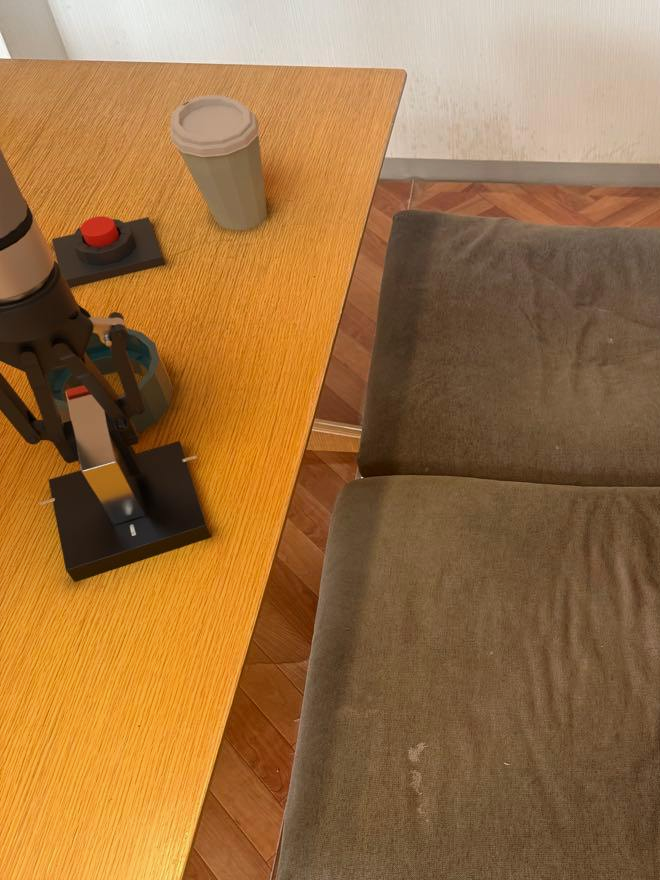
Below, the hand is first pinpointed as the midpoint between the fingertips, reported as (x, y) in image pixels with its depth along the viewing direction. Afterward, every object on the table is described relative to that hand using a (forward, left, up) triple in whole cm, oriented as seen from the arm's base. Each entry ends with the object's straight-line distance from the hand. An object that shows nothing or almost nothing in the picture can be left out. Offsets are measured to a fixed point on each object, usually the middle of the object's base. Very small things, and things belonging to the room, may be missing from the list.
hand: (115, 470), depth 88 cm
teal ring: (+1, +14, -5) cm, 15 cm away
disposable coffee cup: (+22, +42, -5) cm, 48 cm away
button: (+5, +40, -1) cm, 40 cm away
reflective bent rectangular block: (0, 0, -2) cm, 1 cm away
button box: (+5, +40, -5) cm, 41 cm away
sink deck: (0, -1, -5) cm, 5 cm away
